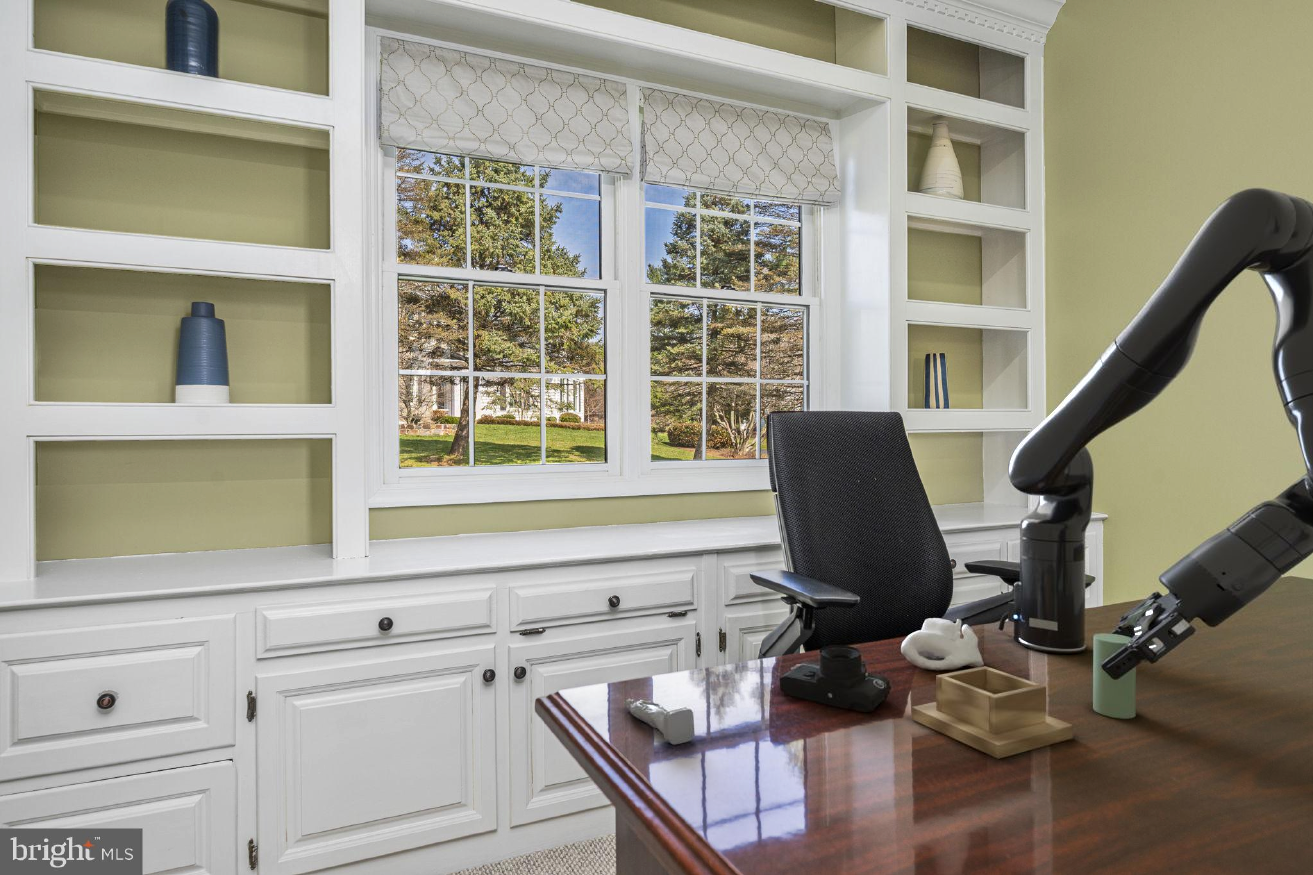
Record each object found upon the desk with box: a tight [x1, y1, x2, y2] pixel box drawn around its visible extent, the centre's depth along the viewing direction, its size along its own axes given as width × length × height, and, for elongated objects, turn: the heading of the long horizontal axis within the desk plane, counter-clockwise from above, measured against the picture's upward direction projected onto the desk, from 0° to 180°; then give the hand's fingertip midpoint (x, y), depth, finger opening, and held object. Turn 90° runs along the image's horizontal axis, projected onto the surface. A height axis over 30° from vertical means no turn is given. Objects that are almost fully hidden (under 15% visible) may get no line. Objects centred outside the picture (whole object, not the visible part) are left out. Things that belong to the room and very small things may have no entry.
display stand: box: [911, 665, 1074, 760], centre depth 85 cm, size 12×12×6 cm
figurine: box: [625, 698, 696, 746], centre depth 86 cm, size 4×12×4 cm, turn 31°
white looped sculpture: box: [900, 617, 985, 672], centre depth 109 cm, size 9×12×8 cm
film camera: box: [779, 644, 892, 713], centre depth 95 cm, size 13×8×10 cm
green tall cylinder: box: [1092, 632, 1137, 720], centre depth 91 cm, size 4×4×9 cm
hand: (1103, 663), depth 91 cm, fingers open, 8 cm apart
